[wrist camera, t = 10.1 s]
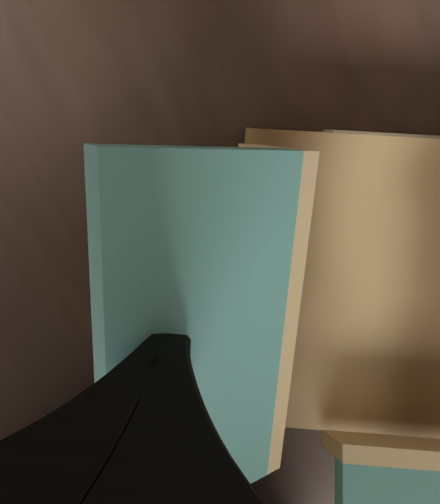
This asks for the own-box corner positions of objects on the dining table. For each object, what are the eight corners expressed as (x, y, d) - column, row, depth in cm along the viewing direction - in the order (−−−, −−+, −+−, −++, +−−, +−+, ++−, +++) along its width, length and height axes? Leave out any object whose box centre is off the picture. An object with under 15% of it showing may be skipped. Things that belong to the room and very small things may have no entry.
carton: (639, 147, 16) (742, 153, 13) (549, 398, 20) (611, 453, 17) (245, 125, 17) (246, 124, 13) (228, 374, 20) (225, 422, 17)
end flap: (319, 151, 11) (97, 146, 8) (279, 467, 14) (112, 558, 11) (252, 144, 13) (61, 138, 10) (231, 417, 17) (82, 479, 13)
